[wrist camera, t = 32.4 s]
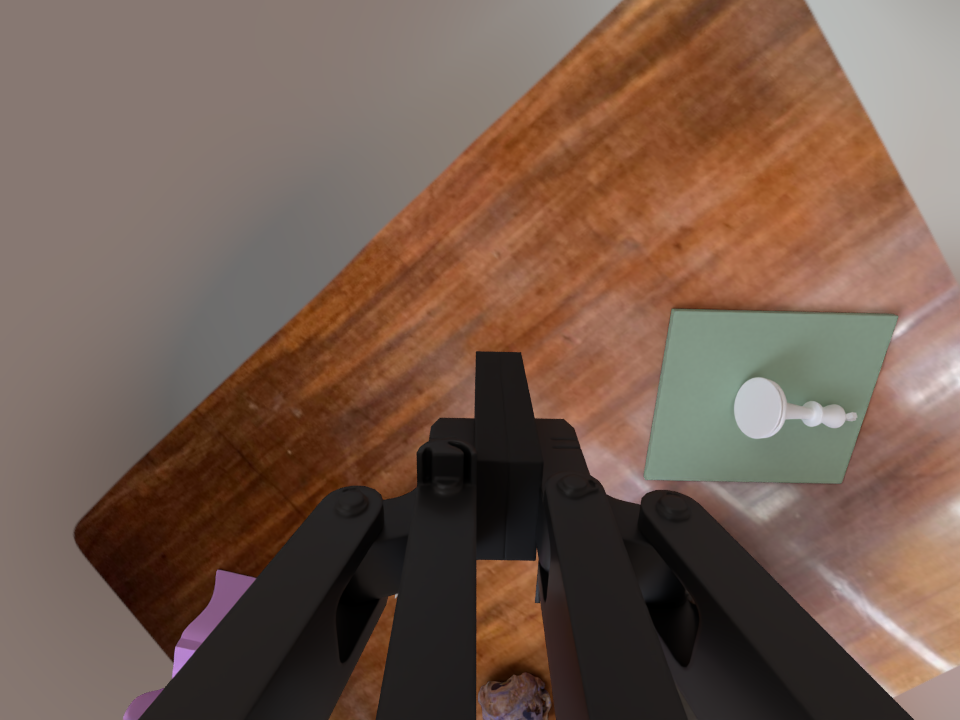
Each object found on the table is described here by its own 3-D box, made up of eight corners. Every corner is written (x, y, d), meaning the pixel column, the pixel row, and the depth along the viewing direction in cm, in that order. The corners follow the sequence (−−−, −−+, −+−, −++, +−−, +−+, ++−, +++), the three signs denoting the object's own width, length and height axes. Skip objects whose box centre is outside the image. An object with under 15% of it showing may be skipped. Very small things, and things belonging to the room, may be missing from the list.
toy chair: (197, 628, 55) (103, 791, 41) (207, 566, 52) (107, 720, 38) (276, 645, 56) (210, 810, 42) (290, 585, 53) (223, 742, 39)
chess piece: (738, 444, 43) (834, 452, 46) (786, 431, 39) (889, 441, 41) (729, 387, 45) (822, 398, 48) (774, 368, 41) (873, 381, 43)
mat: (671, 308, 42) (674, 310, 41) (893, 313, 42) (898, 315, 42) (643, 476, 48) (645, 480, 47) (837, 480, 48) (841, 483, 48)
